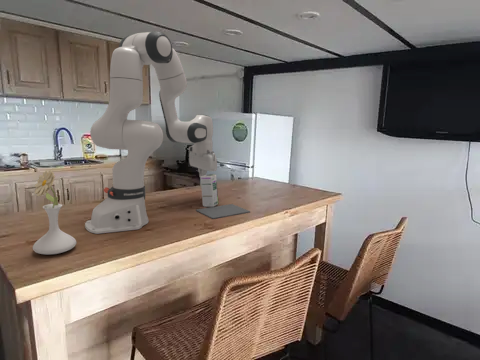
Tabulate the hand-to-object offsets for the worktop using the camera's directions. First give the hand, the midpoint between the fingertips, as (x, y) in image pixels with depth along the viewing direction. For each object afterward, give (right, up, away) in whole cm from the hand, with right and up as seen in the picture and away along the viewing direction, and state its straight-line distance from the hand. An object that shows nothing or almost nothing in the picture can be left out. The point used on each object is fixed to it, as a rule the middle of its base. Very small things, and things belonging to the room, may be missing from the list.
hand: (202, 177), depth 155 cm
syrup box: (+4, -13, -4) cm, 15 cm away
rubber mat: (+11, -15, -12) cm, 22 cm away
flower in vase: (-37, -23, -60) cm, 74 cm away
